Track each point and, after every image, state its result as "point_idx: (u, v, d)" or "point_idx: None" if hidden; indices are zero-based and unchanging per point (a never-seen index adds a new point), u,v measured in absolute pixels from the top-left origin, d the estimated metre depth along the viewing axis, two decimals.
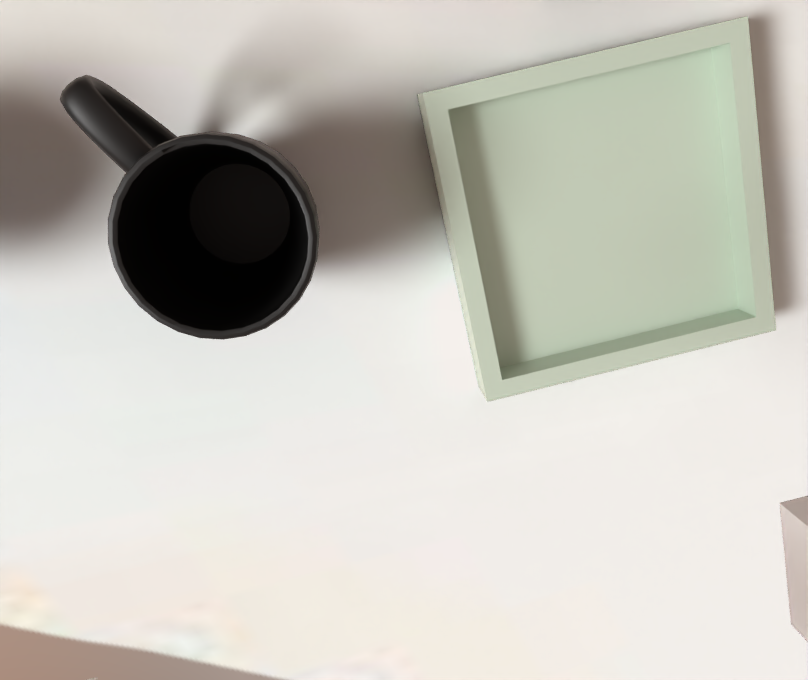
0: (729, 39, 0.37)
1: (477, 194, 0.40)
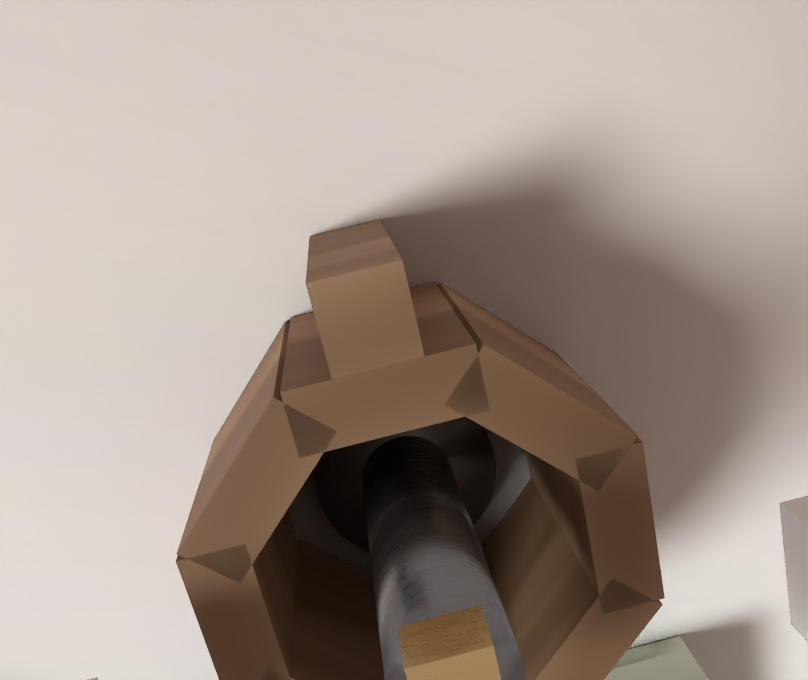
0: None
1: None
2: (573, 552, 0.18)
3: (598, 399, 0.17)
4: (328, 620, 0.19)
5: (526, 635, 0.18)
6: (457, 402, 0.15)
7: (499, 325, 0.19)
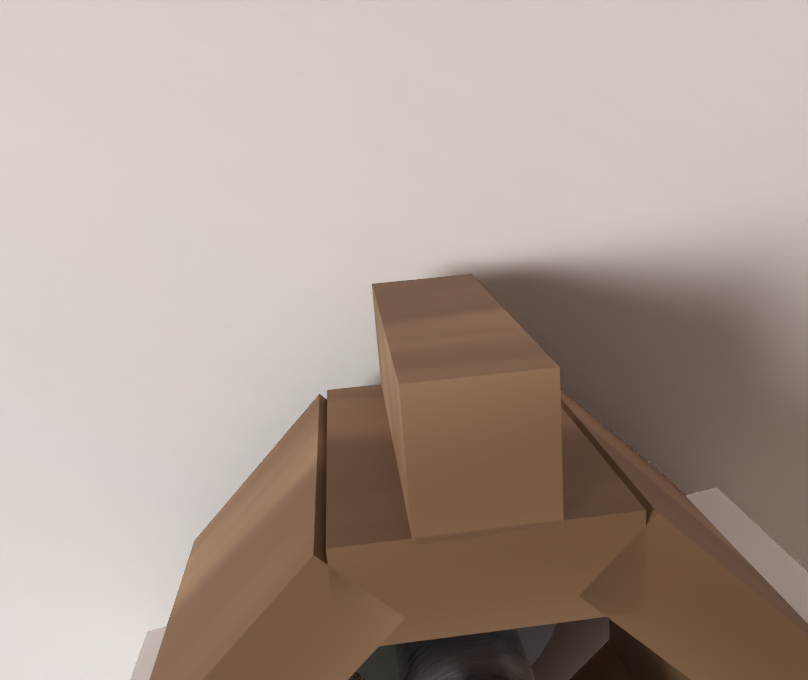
0: None
1: None
2: None
3: (769, 585, 0.12)
4: None
5: None
6: (599, 595, 0.09)
7: (618, 445, 0.13)
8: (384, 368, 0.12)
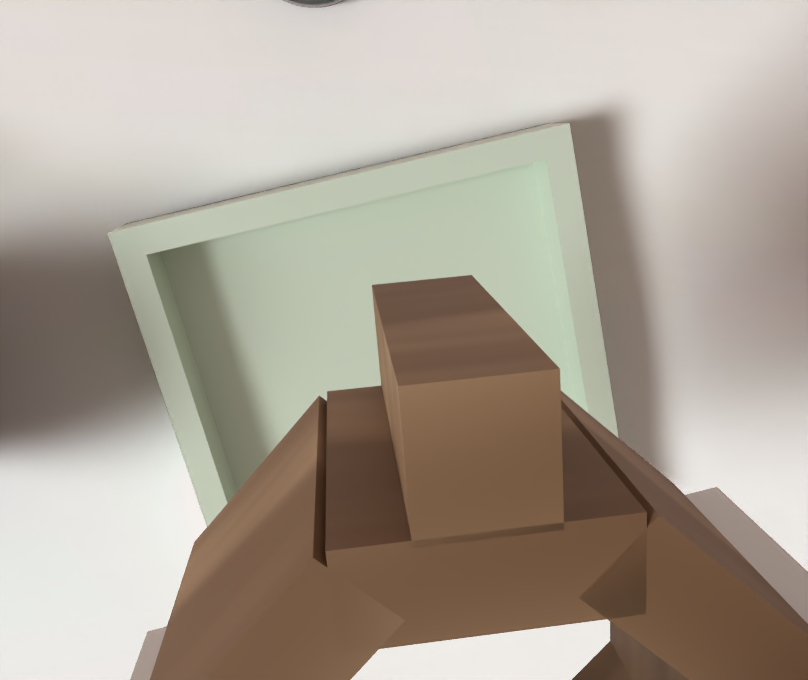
0: (545, 154, 0.26)
1: (218, 354, 0.29)
2: None
3: (770, 587, 0.12)
4: None
5: None
6: (599, 597, 0.09)
7: (619, 446, 0.13)
8: (384, 369, 0.12)
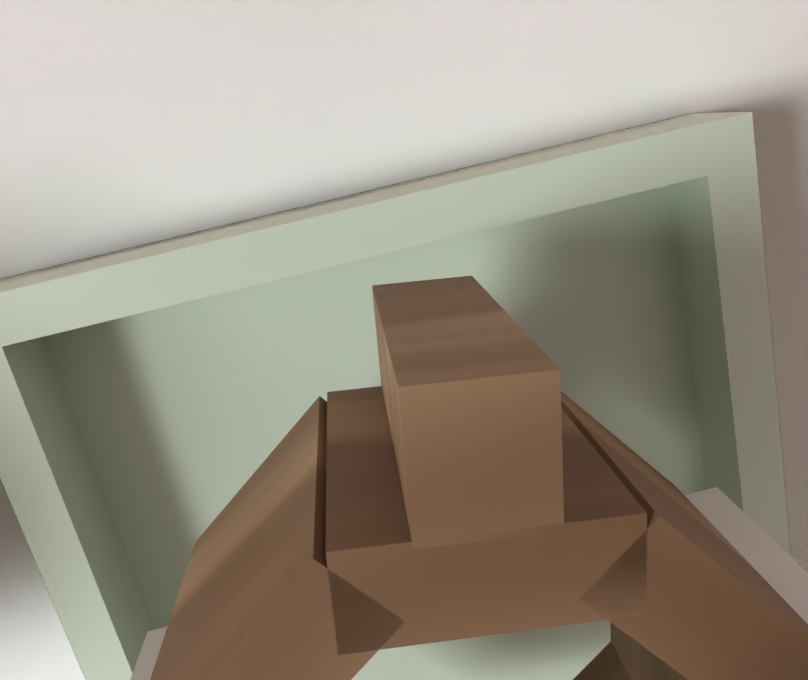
0: (706, 167, 0.15)
1: (146, 493, 0.18)
2: None
3: (770, 588, 0.12)
4: None
5: None
6: (599, 598, 0.09)
7: (619, 447, 0.13)
8: (384, 370, 0.12)
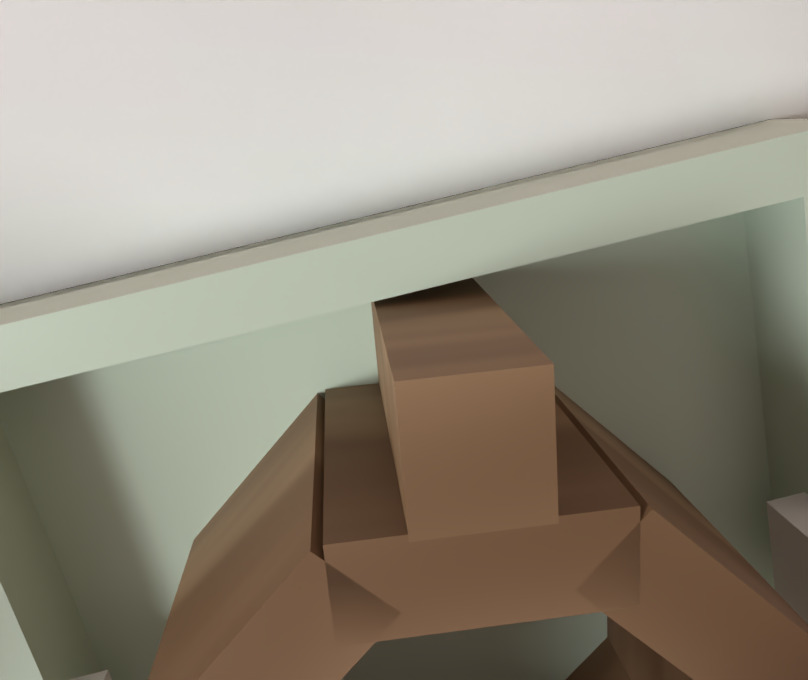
0: (802, 187, 0.12)
1: (114, 574, 0.15)
2: None
3: (764, 581, 0.12)
4: None
5: None
6: (594, 590, 0.09)
7: (615, 443, 0.14)
8: (381, 367, 0.12)
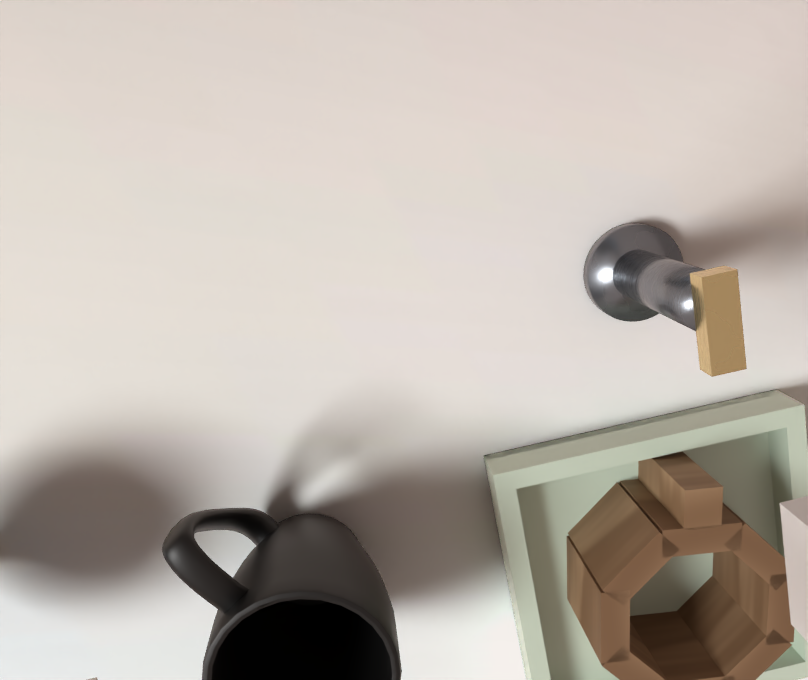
0: (786, 424, 0.38)
1: (538, 545, 0.41)
2: (747, 615, 0.39)
3: None
4: None
5: (721, 651, 0.39)
6: (729, 544, 0.36)
7: None
8: (654, 478, 0.38)
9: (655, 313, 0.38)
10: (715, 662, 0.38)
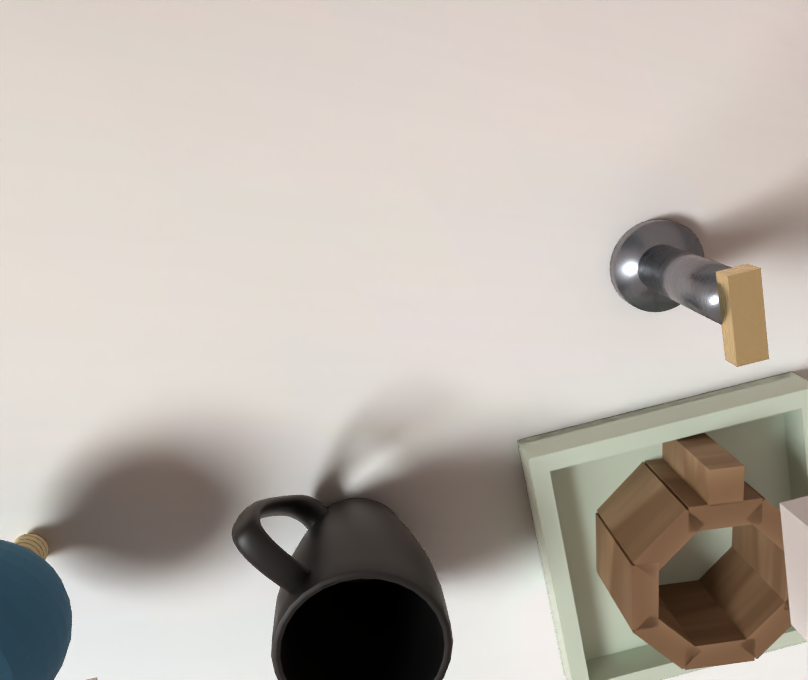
0: (801, 405, 0.41)
1: (569, 522, 0.44)
2: (766, 583, 0.42)
3: None
4: None
5: (742, 616, 0.41)
6: (750, 518, 0.38)
7: None
8: (678, 458, 0.41)
9: (678, 304, 0.41)
10: (736, 626, 0.41)
